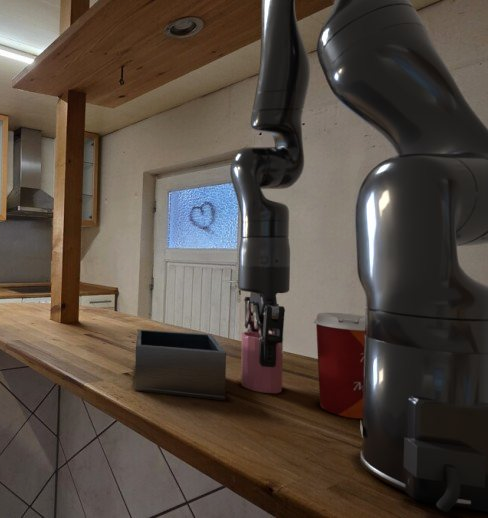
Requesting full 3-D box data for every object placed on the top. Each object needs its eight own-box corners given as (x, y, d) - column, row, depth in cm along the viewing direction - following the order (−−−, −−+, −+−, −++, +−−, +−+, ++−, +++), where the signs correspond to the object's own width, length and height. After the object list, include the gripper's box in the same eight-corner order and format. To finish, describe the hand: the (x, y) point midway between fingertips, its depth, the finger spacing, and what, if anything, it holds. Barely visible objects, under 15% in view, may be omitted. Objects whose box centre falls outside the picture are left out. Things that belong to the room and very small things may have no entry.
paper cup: (383, 427, 50) (386, 323, 49) (311, 412, 54) (314, 316, 54) (375, 408, 56) (378, 315, 56) (311, 395, 61) (313, 310, 60)
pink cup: (287, 395, 61) (288, 340, 61) (245, 390, 63) (246, 337, 62) (275, 383, 67) (276, 332, 66) (237, 379, 68) (238, 330, 68)
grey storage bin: (225, 400, 58) (226, 352, 58) (135, 390, 62) (135, 345, 62) (210, 373, 71) (211, 334, 71) (136, 366, 75) (137, 329, 75)
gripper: (306, 265, 56) (303, 376, 57) (274, 263, 70) (272, 351, 70) (249, 265, 58) (247, 371, 59) (230, 262, 72) (228, 348, 72)
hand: (261, 360), depth 65 cm, fingers closed on pink cup, 6 cm apart
